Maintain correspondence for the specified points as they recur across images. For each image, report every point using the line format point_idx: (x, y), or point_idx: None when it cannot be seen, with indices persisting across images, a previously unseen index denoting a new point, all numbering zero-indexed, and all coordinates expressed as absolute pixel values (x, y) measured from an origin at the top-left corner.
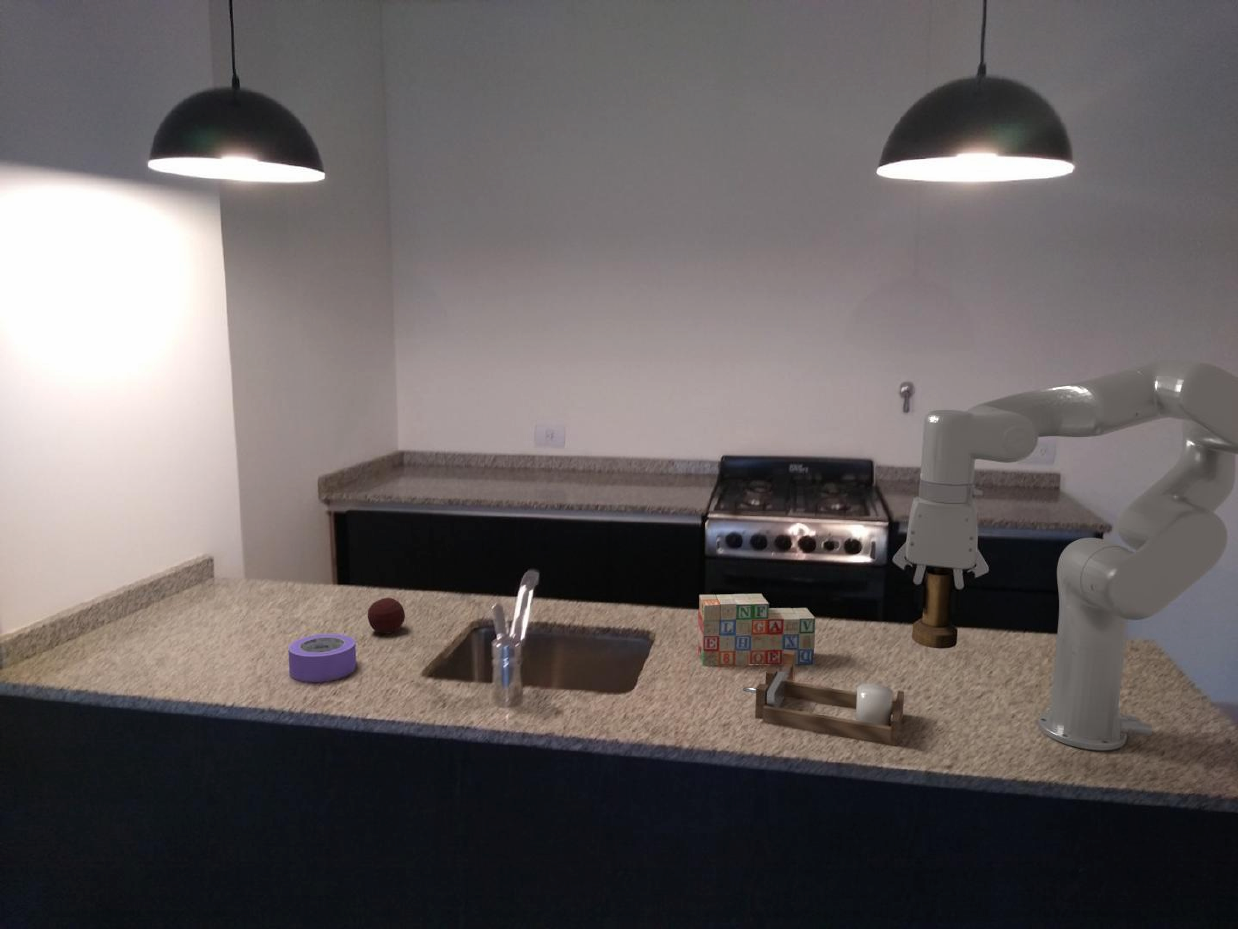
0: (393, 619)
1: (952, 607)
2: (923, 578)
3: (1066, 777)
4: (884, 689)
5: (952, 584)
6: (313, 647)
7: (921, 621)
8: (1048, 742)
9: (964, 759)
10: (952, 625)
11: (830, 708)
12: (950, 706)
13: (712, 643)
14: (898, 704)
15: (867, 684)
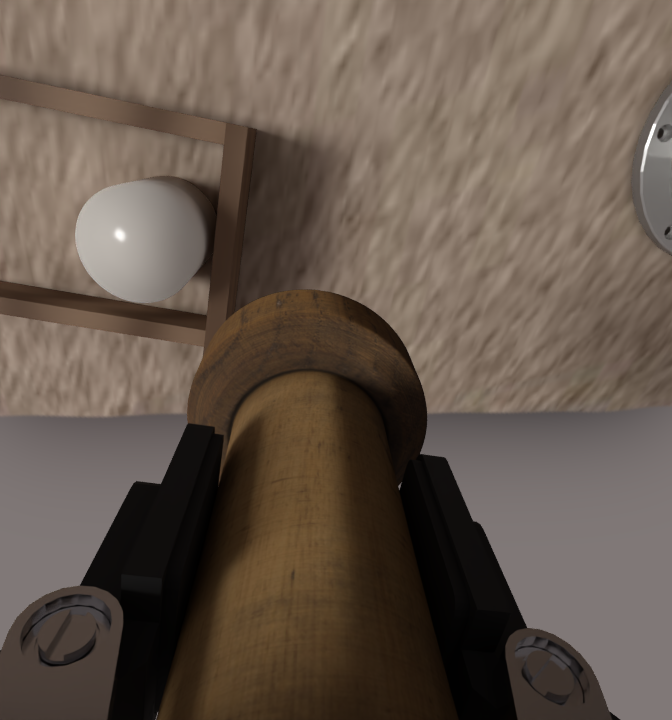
0: None
1: None
2: (133, 713)
3: (576, 395)
4: (168, 232)
5: (461, 619)
6: None
7: (228, 430)
8: (618, 233)
9: None
10: (399, 461)
11: (34, 131)
12: (417, 23)
13: None
14: (224, 245)
15: (106, 198)
